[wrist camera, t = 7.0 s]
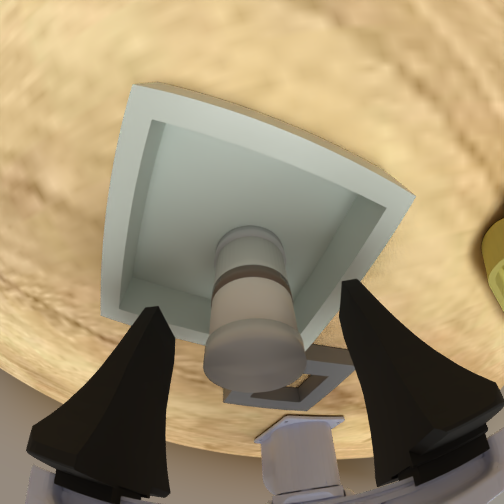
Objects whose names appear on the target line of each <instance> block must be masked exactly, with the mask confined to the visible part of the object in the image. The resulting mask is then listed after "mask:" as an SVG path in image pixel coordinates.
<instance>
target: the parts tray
mask: <svg viewBox="0 0 504 504" xmlns="http://www.w3.org/2000/svg"><path fill="white" fill-rule="evenodd" d="M415 197H416V196H415V195H414V194H413V193H412V192H410V191H409V190H408V189H407V188H406V187H404V186H403V185H402V184H401V183H400V182H398V181H397V180H396V179H395V178H393V177H392V176H391V175H390V174H388V173H387V172H386V171H384V170H383V169H381V168H379V167H377V166H376V165H374V164H372V163H370V162H368V161H366V160H364V159H363V158H361V157H359V156H357V155H355V154H353V153H351V152H349V151H347V150H345V149H343V148H341V147H339V146H337V145H335V144H333V143H331V142H329V141H326V140H324V139H322V138H320V137H318V136H316V135H313V134H311V133H309V132H307V131H304V130H302V129H300V128H297V127H295V126H293V125H290V124H288V123H285V122H283V121H280V120H278V119H275V118H273V117H270V116H268V115H265V114H262V113H260V112H257V111H254V110H251V109H249V108H246V107H243V106H240V105H237V104H234V103H231V102H228V101H225V100H222V99H219V98H216V97H212V96H209V95H206V94H202V93H199V92H195V91H192V90H188V89H184V88H181V87H177V86H173V85H169V84H165V83H160V82H151V83H140V84H133V85H132V88H131V92H130V95H129V99H128V102H127V106H126V110H125V114H124V117H123V121H122V126H121V130H120V134H119V139H118V143H117V148H116V153H115V158H114V163H113V169H112V175H111V181H110V187H109V194H108V201H107V209H106V218H105V227H104V238H103V251H102V268H101V316H103V317H106V318H109V319H112V320H115V321H118V322H122V323H125V324H128V325H131V326H132V325H133V323H134V322H135V321H136V319H137V318H138V316H139V315H140V314H141V312H142V311H143V310H144V308H145V307H153V306H159V308H160V310H161V312H162V314H163V316H164V318H165V320H166V321H167V323H168V325H169V327H170V329H171V331H172V333H173V335H174V337H175V338H177V339H181V340H185V341H189V342H193V343H197V344H201V345H205V344H206V341H207V339H208V337H209V328H210V317H211V299H212V290H213V286H214V277H215V269H214V258H215V250H216V246H217V244H218V242H219V240H220V239H221V238H222V237H223V236H224V235H225V234H226V233H227V232H229V231H230V230H232V229H234V228H237V227H241V226H247V225H254V226H260V227H263V228H266V229H268V230H270V231H272V232H273V233H274V234H275V235H276V236H277V237H278V238H279V239H280V241H281V243H282V245H283V248H284V253H285V257H286V273H287V278H288V282H289V285H290V289H291V293H292V298H293V307H294V313H295V318H296V323H297V328H298V333H299V334H300V335H301V337H302V340H303V344H304V349H305V351H306V350H307V349H308V348H309V346H310V345H311V344H312V343H313V342H314V340H315V339H316V338H317V337H318V336H319V334H320V333H321V332H322V331H323V330H324V328H325V327H326V326H327V325H328V323H329V322H330V321H331V320H332V318H333V317H334V316H335V315H336V313H337V312H338V311H339V309H340V299H341V285H342V281H345V280H351V279H358V280H359V281H361V280H362V279H363V277H364V276H365V275H366V273H367V272H368V270H369V269H370V267H371V266H372V265H373V263H374V262H375V260H376V259H377V257H378V256H379V254H380V253H381V251H382V250H383V248H384V247H385V245H386V244H387V242H388V241H389V239H390V238H391V236H392V235H393V233H394V232H395V230H396V229H397V227H398V225H399V224H400V222H401V221H402V219H403V217H404V216H405V214H406V212H407V211H408V209H409V208H410V206H411V204H412V203H413V201H414V199H415Z"/></svg>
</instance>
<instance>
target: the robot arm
mask: <svg viewBox="0 0 504 504" xmlns="http://www.w3.org/2000/svg"><path fill="white" fill-rule="evenodd" d="M339 319H340V323H341V328H342V332H343V336H344V340H345V342H346V345H347V348H348V351H349V353H350V356H351V359H352V362H353V365H354V367H355V370H356V373H357V376H358V379H359V381H360V384H361V388H362V391H363V395H364V399H365V404H366V409H367V414H368V420H369V425H370V431H371V438H372V446H373V454H374V465H375V479H376V484H377V487H379V486H383V485H385V484H389V483H392V482H395V481H398V480H399V481H398V482H396V483H393V484H390V485H387V486H383V487H380V488H377V489H373V490H370V491H366V492H363V493H359V494H355V493H354V491H352V490H350V489H349V488H346V489H343V486H342V485H341V484H340V478H339V472H338V466H337V460H336V454H335V449H334V443H333V437H332V432H331V429H332V428H334V427H335V426H337V425H338V424H340V423H341V422H343V421H344V420H345V418H344V417H311V416H285V417H284V418H282V419H281V420H280V421H278V422H277V423H276V424H275V425H273V426H272V427H271V428H269V429H268V430H267V431H265V432H264V433H263V434H261V435H260V436H259V437H257V438H256V439H255V440H254V443H261V454H262V471H263V482H264V484H265V487H266V488H267V489H268V490H269V491H270V492H271V493H272V494H274V495H276V496H273V497H272V499H273V500H269V501H268V502H267V503H266V504H380V503H381V504H488V503H489V502H490V501H492V500H493V499H494V498H496V497H497V496H498V495H499V494H501V493H502V492H503V491H504V427H503V428H502V429H500V430H499V431H497V432H496V433H494V434H492V435H491V436H489V437H488V438H486V435H485V433H486V432H487V431H488V427H487V425H486V422H487V421H489V420H490V419H491V418H492V417H493V416H495V415H496V414H497V413H498V412H499V411H500V410H501V409H502V408H503V407H504V399H503V396H502V394H501V392H500V390H499V388H498V386H497V384H496V383H495V382H493V381H491V380H488V379H486V378H484V377H482V376H479V375H477V374H475V373H473V372H471V371H469V370H467V369H465V368H463V367H461V366H459V365H458V364H456V363H454V362H453V361H451V360H450V359H448V358H446V357H445V356H443V355H442V354H440V353H438V352H437V351H436V350H434V349H433V348H431V347H430V346H429V345H427V344H426V343H425V342H423V341H422V340H421V339H419V338H418V337H417V336H416V335H414V334H413V333H412V332H411V331H410V330H409V329H408V328H406V327H405V326H404V325H403V324H402V323H401V322H400V321H399V320H397V319H396V318H395V317H394V316H393V315H392V314H391V313H390V312H389V311H388V310H387V309H386V308H385V307H384V306H383V305H382V304H381V303H380V302H379V301H378V300H377V299H376V298H375V297H374V296H373V295H372V294H371V293H370V292H369V291H368V289H367V288H366V287H365V286H364V285H363V284H362V283H361V282H360V281H359V280H358V279H351V280H345V281H342V285H341V299H340V311H339ZM174 356H175V337H174V335H173V333H172V331H171V329H170V327H169V325H168V323H167V321H166V320H165V318H164V316H163V314H162V312H161V310H160V308H159V306H153V307H145V308H144V310H143V311H142V312H141V314H140V315H139V316H138V318H137V319H136V321H135V322H134V323H133V325H132V326H131V328H130V329H129V330H128V332H127V333H126V334H125V336H124V337H123V339H122V340H121V341H120V343H119V344H118V346H117V347H116V348H115V349H114V351H113V352H112V353H111V355H110V356H109V357H108V358H107V360H106V361H105V362H104V364H103V365H102V366H101V367H100V368H99V370H98V371H97V372H96V373H95V374H94V375H93V376H92V377H91V379H90V380H89V381H88V382H87V383H86V384H85V385H84V386H83V387H82V388H81V389H80V390H79V391H78V392H77V393H75V394H74V395H73V396H72V397H71V398H70V399H69V400H68V401H67V402H66V403H64V404H63V405H62V406H61V407H60V408H58V409H57V410H56V411H54V412H53V413H52V414H50V415H49V416H47V417H46V418H44V419H43V420H41V421H40V422H38V423H37V424H35V425H33V427H32V430H31V433H30V437H29V441H28V445H27V449H26V451H27V453H28V454H30V455H31V456H33V457H34V458H36V459H38V460H40V461H42V462H43V463H45V464H47V465H49V466H51V467H53V468H55V469H56V474H54V473H52V472H50V471H48V470H45V469H43V468H41V467H38V466H36V465H32V468H31V473H30V478H29V484H28V490H27V495H26V503H25V504H159V503H153V502H147V501H142V500H141V497H144V498H150V496H156V497H163V498H165V497H167V496H168V495H169V494H170V487H169V480H168V472H167V462H166V443H165V442H166V438H165V429H166V408H167V401H168V395H169V389H170V383H171V377H172V371H173V365H174Z"/></svg>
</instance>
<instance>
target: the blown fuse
mask: <svg viewBox="0 0 504 504" xmlns="http://www.w3.org/2000/svg"><path fill="white" fill-rule="evenodd" d="M214 269H215V277H214V286H213V290H212V299H211V317H210V328H209V337H208V339H207V341H206V344H205V352H204V364H203V369H204V372H205V375H206V376H207V377H208V378H209V379H210V380H211V381H212V382H213V383H215V384H216V385H218V386H220V387H223V388H225V389H228V390H232V391H237V392H245V393H258V392H267V391H272V390H276V389H279V388H282V387H285V386H287V385H289V384H291V383H293V382H294V381H296V380H297V379H298V378H299V377H300V376H301V375H302V374H303V373H304V371H305V369H306V366H307V360H306V354H305V349H304V344H303V340H302V337H301V335H300V334H299V333H298V328H297V323H296V318H295V313H294V307H293V298H292V293H291V289H290V285H289V282H288V278H287V273H286V257H285V253H284V248H283V245H282V243H281V241H280V239H279V238H278V237H277V236H276V235H275V234H274V233H273V232H272V231H270V230H268V229H266V228H263V227H260V226H254V225H247V226H241V227H237V228H234V229H232V230H230V231H229V232H227V233H226V234H225V235H224V236H223V237H222V238H221V239H220V240H219V242H218V244H217V246H216V250H215V258H214Z"/></svg>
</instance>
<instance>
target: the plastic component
mask: <svg viewBox="0 0 504 504" xmlns="http://www.w3.org/2000/svg"><path fill="white" fill-rule="evenodd" d="M481 250H482V255H483V259H484V264H485V268H486V273H487V278H488V283H489V286H490V288H491V290H492V292H493V293H494V295H495V297H496V299H497V301H498V302H499V304H500V306H501V308H502V310H503V312H504V218H503V219H501V220H499V221H498V222H496V223H495V224H494V225H493V226H491V227H490V229H489V230H488V231H487V233H486V234H485V236H484V238H483V241H482V247H481Z"/></svg>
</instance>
